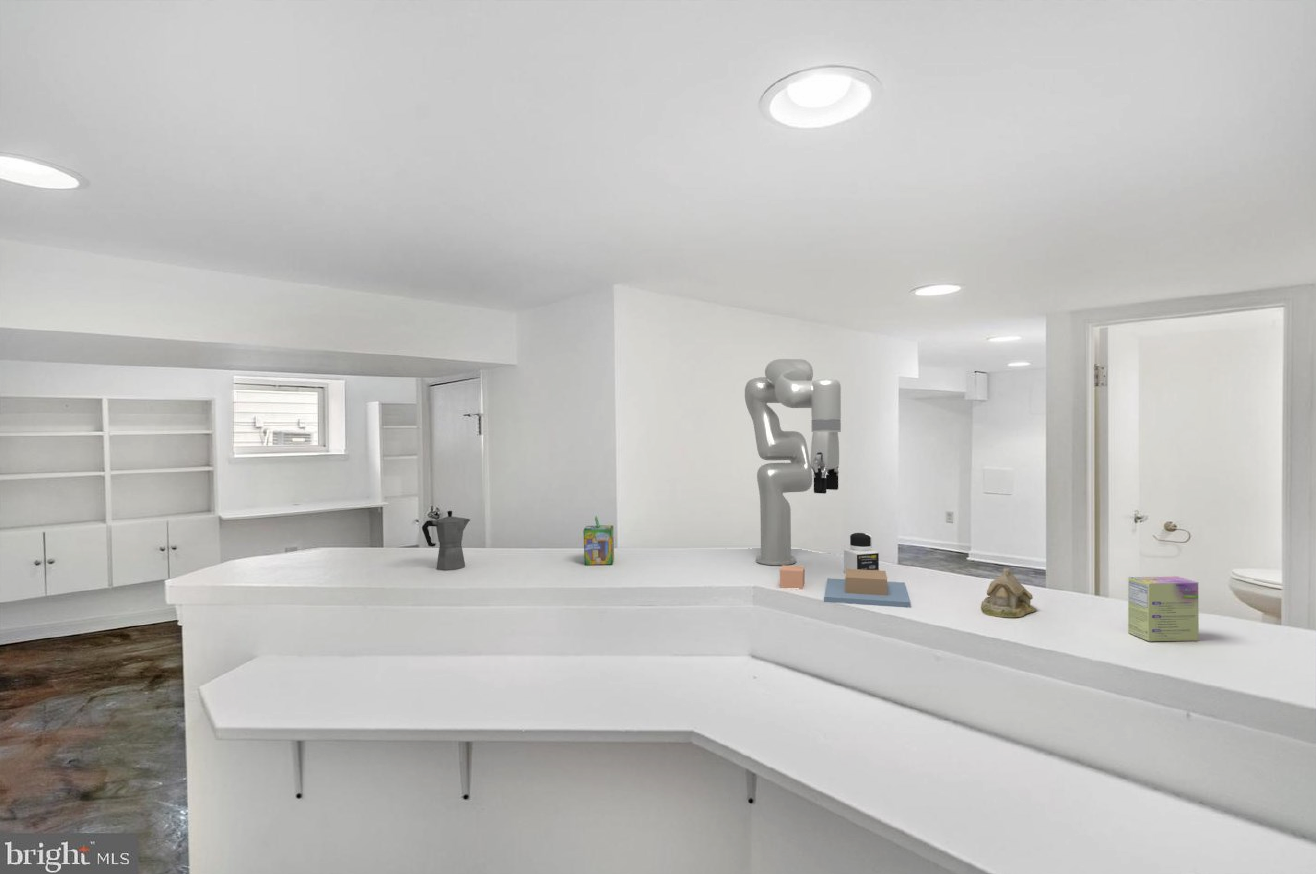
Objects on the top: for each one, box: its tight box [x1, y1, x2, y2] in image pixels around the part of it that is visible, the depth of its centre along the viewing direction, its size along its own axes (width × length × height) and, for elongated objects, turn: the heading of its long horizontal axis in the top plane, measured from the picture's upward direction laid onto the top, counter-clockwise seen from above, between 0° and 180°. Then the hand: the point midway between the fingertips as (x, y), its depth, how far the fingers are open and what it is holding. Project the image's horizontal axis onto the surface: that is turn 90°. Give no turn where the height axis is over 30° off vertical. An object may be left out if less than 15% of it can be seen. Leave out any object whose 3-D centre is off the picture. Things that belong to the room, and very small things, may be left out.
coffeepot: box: [421, 510, 471, 571], centre depth 205 cm, size 15×9×18 cm, turn 129°
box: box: [1127, 576, 1200, 642], centre depth 132 cm, size 10×6×12 cm, turn 92°
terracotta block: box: [779, 565, 806, 590], centre depth 177 cm, size 6×6×5 cm
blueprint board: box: [823, 569, 911, 608], centre depth 167 cm, size 20×20×5 cm
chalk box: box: [582, 515, 615, 566], centre depth 210 cm, size 9×9×15 cm
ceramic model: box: [980, 567, 1037, 618], centre depth 152 cm, size 14×11×10 cm
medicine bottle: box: [843, 532, 880, 574], centre depth 189 cm, size 7×7×12 cm
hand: (826, 491), depth 172 cm, fingers open, 9 cm apart
